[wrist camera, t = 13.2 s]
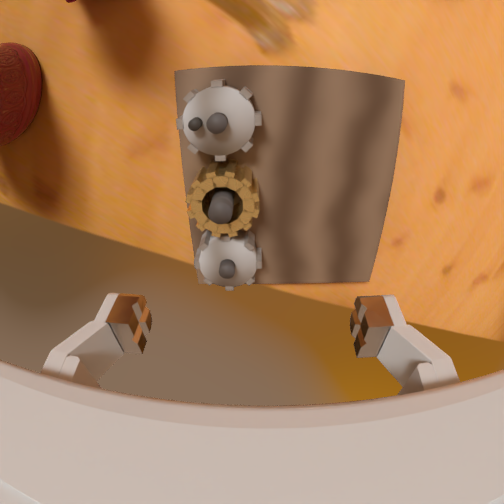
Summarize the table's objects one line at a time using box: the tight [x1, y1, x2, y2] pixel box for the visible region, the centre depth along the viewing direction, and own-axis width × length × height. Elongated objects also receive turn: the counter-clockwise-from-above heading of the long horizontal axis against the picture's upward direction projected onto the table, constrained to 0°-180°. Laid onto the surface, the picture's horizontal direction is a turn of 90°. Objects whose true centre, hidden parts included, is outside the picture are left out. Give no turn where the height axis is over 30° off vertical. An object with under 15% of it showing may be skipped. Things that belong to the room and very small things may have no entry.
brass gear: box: [186, 159, 260, 237], centre depth 28 cm, size 6×6×4 cm
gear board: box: [175, 66, 405, 290], centre depth 28 cm, size 21×24×7 cm
